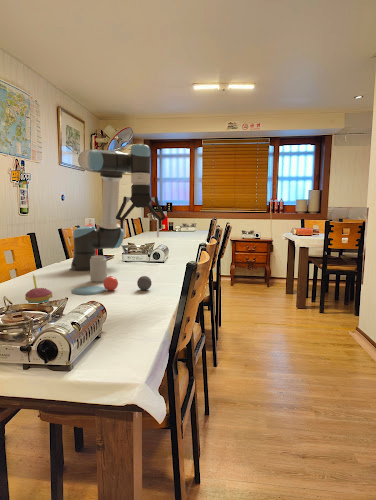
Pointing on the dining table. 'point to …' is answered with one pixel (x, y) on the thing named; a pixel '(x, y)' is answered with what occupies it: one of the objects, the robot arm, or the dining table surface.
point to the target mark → (88, 290)
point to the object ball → (110, 283)
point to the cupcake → (38, 294)
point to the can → (98, 269)
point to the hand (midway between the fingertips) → (141, 237)
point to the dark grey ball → (144, 283)
